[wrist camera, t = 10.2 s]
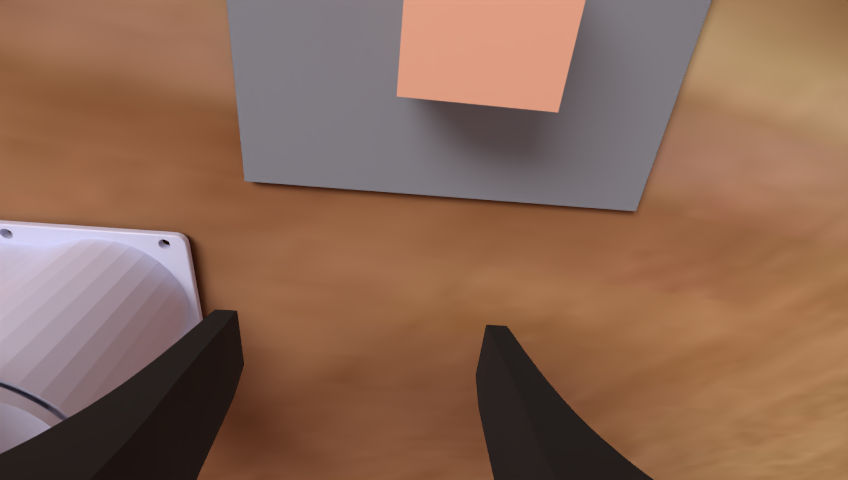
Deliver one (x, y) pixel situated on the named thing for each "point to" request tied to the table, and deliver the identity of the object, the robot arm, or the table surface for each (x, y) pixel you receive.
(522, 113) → the gray placemat
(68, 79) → the table surface
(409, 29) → the terracotta cube
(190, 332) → the robot arm
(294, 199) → the table surface
